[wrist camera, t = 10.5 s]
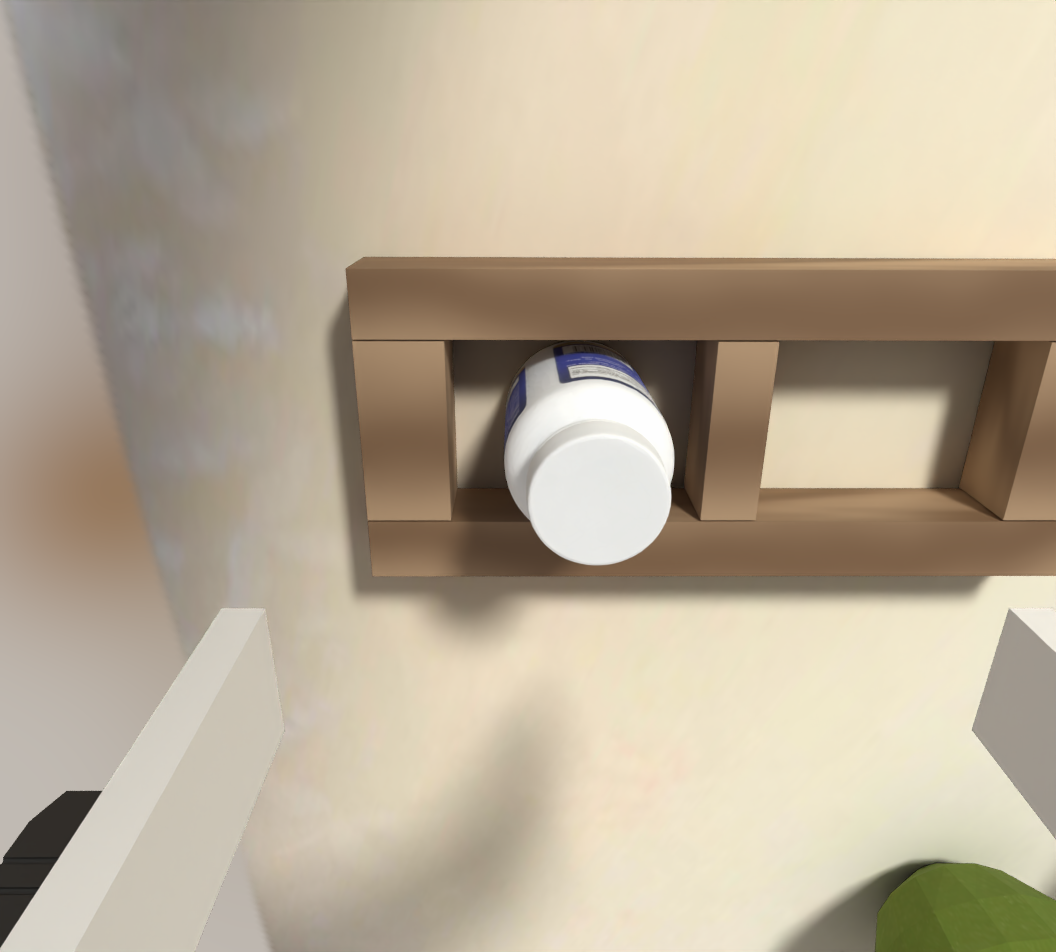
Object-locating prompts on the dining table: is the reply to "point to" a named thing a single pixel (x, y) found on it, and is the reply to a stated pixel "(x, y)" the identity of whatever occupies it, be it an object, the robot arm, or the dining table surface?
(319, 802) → the dining table surface
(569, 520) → the pill bottle
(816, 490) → the wooden frame
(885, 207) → the dining table surface
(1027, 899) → the apple
